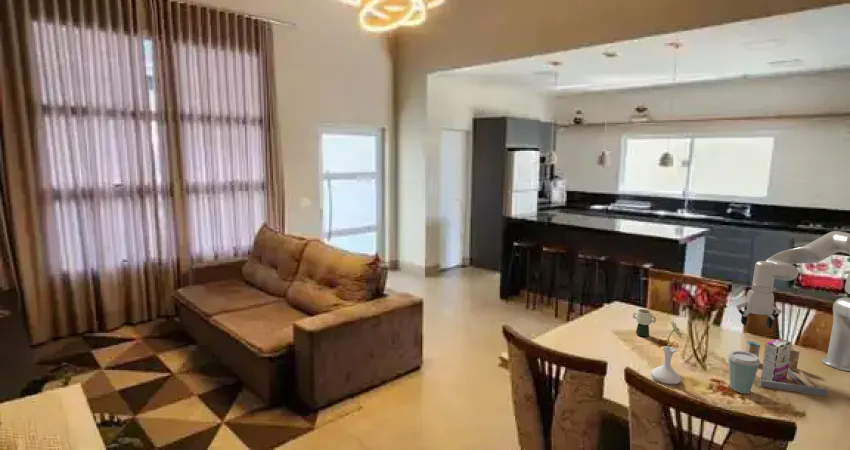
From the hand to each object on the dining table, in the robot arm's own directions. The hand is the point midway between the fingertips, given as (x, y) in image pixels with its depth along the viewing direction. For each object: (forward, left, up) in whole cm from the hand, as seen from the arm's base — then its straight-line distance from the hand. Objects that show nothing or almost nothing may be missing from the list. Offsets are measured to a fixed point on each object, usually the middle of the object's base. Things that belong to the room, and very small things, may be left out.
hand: (755, 325), depth 206 cm
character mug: (+42, -20, -18) cm, 50 cm away
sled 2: (-15, +10, -18) cm, 26 cm away
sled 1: (-4, +10, -18) cm, 21 cm away
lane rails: (-7, +13, -18) cm, 23 cm away
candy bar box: (-4, +13, -18) cm, 23 cm away
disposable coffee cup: (+15, +29, -18) cm, 38 cm away
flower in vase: (+42, +29, -18) cm, 54 cm away
